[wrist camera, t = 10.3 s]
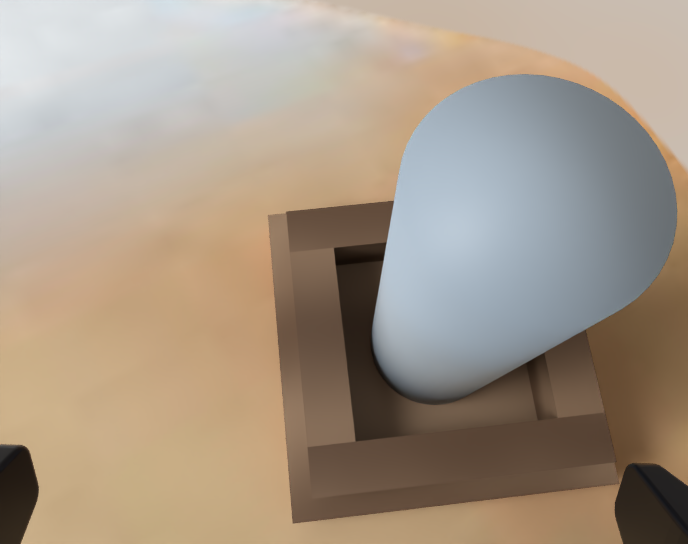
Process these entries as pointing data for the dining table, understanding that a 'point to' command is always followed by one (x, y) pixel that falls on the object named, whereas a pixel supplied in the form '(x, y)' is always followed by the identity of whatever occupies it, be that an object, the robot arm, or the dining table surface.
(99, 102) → the dining table surface
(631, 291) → the blue-gray capsule
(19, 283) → the dining table surface
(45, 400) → the dining table surface
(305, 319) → the socket base
